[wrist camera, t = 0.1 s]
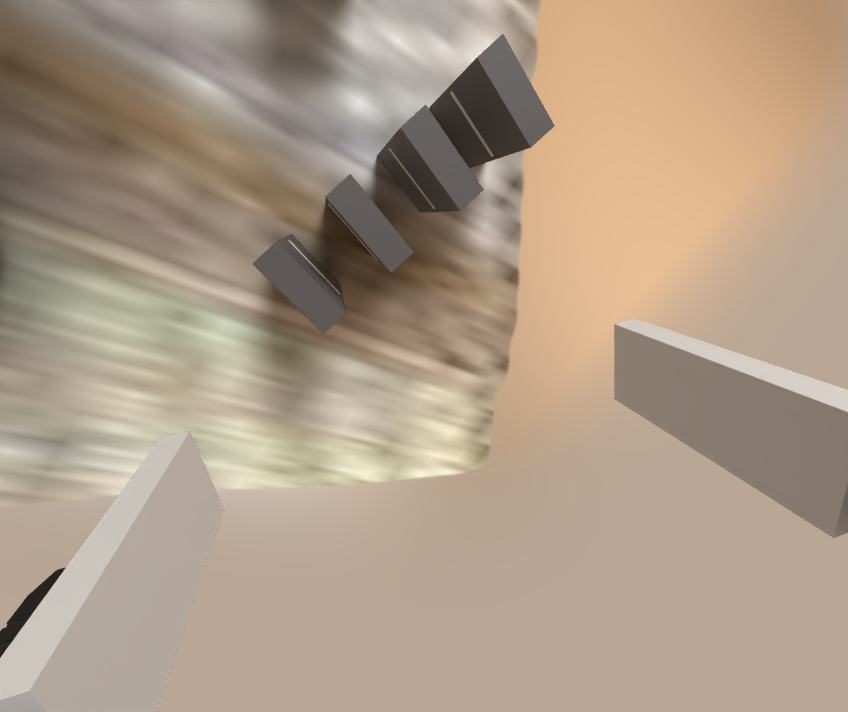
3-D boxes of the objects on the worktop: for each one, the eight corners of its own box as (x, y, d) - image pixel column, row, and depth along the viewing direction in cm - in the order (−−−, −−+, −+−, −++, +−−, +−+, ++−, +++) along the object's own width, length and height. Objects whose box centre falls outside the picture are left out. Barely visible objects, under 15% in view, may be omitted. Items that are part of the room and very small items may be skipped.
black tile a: (428, 108, 35) (476, 58, 24) (447, 91, 35) (503, 33, 24) (469, 168, 37) (530, 147, 26) (486, 152, 37) (555, 125, 26)
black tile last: (274, 249, 36) (251, 264, 25) (292, 233, 36) (277, 241, 25) (323, 300, 38) (322, 334, 27) (340, 284, 38) (346, 312, 27)
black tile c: (325, 203, 36) (324, 197, 24) (343, 186, 35) (350, 173, 24) (371, 256, 38) (390, 273, 27) (388, 241, 38) (414, 251, 27)
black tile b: (376, 156, 35) (399, 128, 24) (394, 139, 35) (426, 103, 24) (420, 212, 38) (459, 211, 26) (437, 197, 37) (484, 189, 26)
